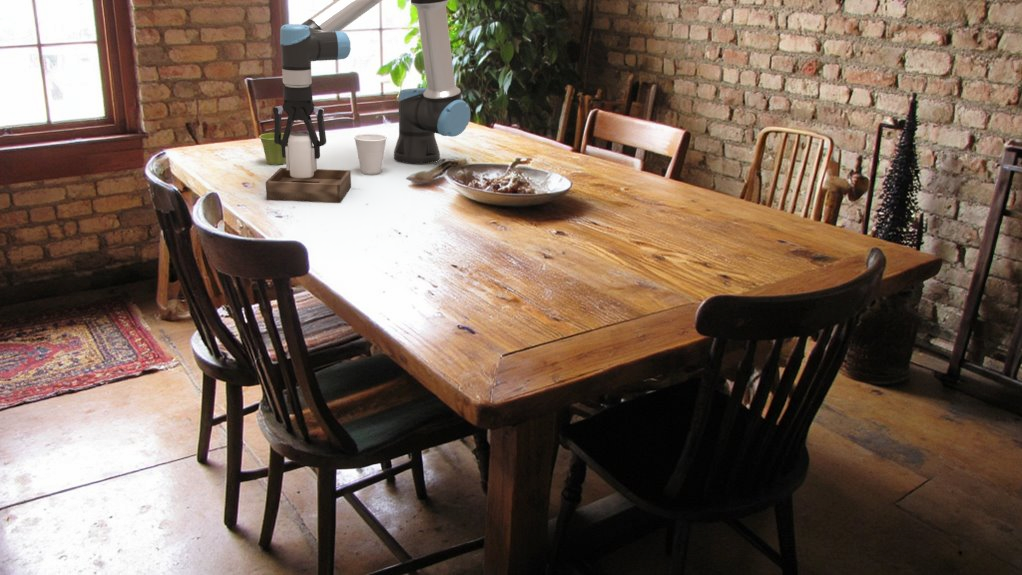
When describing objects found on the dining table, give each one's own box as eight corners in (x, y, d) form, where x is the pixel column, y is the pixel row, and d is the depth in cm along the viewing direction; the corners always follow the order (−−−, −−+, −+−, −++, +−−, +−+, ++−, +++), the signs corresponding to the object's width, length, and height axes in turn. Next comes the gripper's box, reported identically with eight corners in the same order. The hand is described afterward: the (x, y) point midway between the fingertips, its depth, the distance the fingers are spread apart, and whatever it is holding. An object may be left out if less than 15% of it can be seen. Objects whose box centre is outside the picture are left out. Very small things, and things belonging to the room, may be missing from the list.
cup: (390, 169, 265) (390, 134, 261) (383, 177, 256) (382, 141, 252) (359, 167, 266) (358, 132, 262) (351, 175, 257) (349, 139, 252)
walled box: (351, 187, 244) (350, 170, 242) (340, 202, 229) (339, 184, 227) (281, 184, 244) (280, 167, 242) (266, 199, 229) (265, 181, 227)
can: (308, 180, 231) (306, 136, 227) (286, 178, 232) (283, 134, 228) (317, 174, 237) (315, 132, 233) (296, 172, 238) (293, 130, 234)
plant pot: (287, 167, 263) (285, 139, 259) (257, 165, 263) (255, 138, 259) (295, 160, 271) (293, 133, 268) (266, 158, 271) (264, 132, 268)
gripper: (336, 84, 229) (339, 167, 238) (265, 81, 229) (270, 164, 237) (330, 88, 222) (334, 174, 231) (257, 85, 222) (263, 171, 230)
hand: (301, 169), depth 234 cm, fingers closed on can, 6 cm apart
